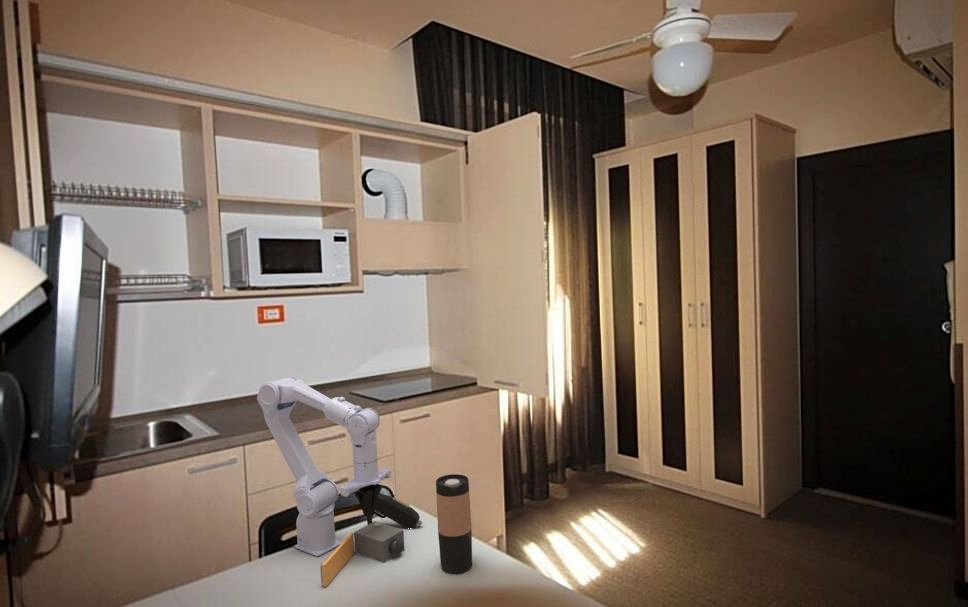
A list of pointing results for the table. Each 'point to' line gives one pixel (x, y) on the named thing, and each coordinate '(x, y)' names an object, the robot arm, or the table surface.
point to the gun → (395, 511)
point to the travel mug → (454, 523)
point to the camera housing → (379, 541)
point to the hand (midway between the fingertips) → (368, 515)
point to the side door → (337, 560)
